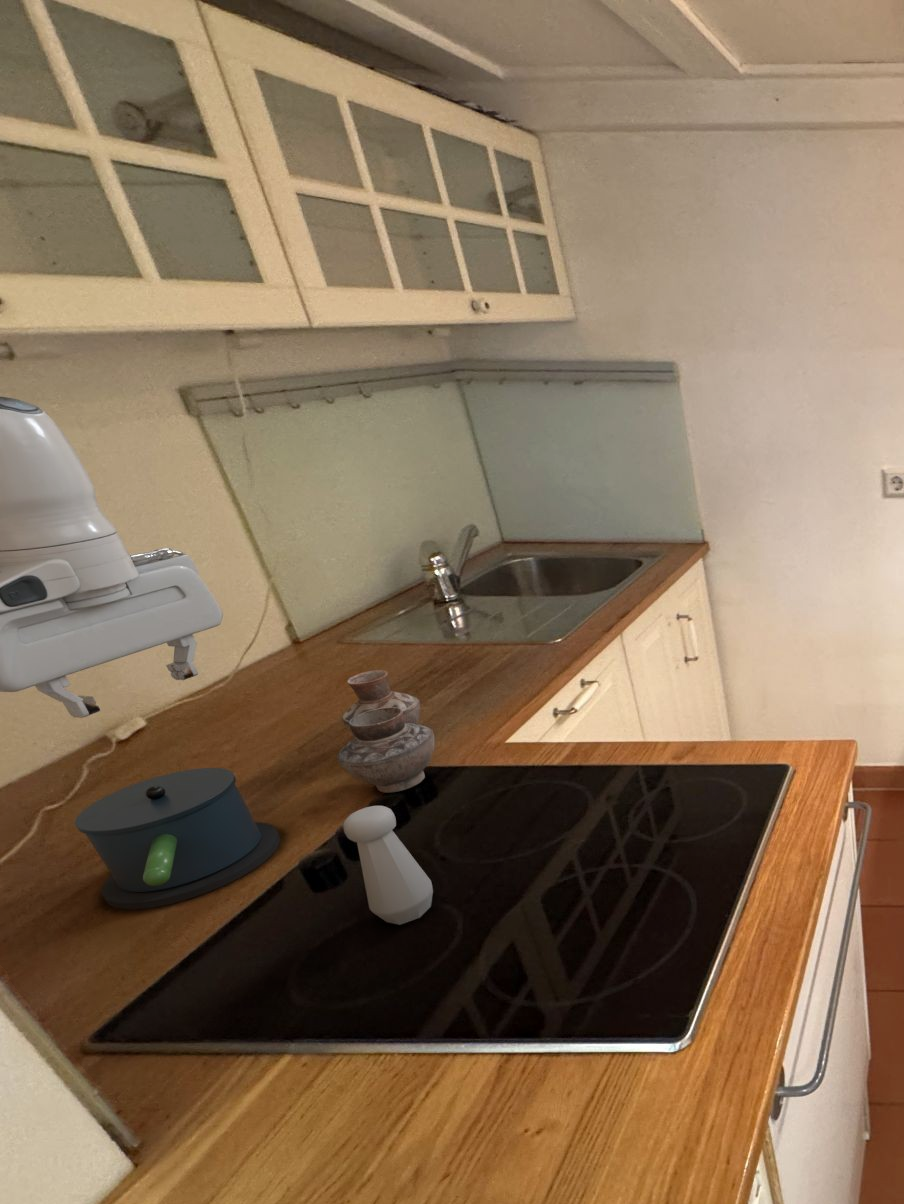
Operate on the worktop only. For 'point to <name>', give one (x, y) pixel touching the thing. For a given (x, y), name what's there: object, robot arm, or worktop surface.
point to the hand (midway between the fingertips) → (139, 695)
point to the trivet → (198, 887)
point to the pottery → (385, 735)
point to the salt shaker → (388, 867)
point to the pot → (170, 829)
